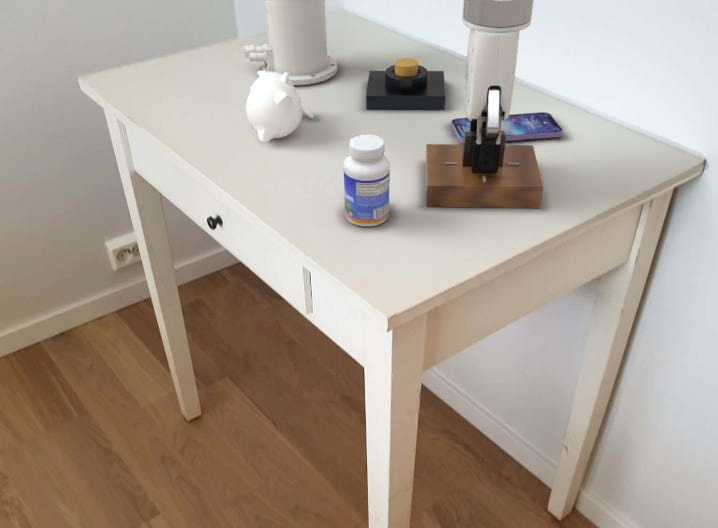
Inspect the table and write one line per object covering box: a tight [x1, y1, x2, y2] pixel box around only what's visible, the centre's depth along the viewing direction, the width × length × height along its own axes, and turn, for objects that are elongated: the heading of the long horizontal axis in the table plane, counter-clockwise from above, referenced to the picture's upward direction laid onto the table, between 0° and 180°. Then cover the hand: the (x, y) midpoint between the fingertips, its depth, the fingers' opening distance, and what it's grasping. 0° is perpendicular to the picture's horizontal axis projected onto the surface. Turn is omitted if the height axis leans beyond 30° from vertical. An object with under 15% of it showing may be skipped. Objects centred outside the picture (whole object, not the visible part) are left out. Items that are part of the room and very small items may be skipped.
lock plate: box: [425, 143, 544, 209], centre depth 93 cm, size 14×11×3 cm
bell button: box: [394, 57, 419, 77], centre depth 112 cm, size 4×4×2 cm
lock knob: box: [462, 130, 507, 167], centre depth 91 cm, size 5×1×4 cm, turn 87°
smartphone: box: [450, 111, 564, 144], centre depth 105 cm, size 7×1×15 cm
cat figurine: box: [245, 69, 314, 144], centre depth 105 cm, size 9×11×12 cm
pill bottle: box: [343, 134, 391, 228], centre depth 86 cm, size 5×5×10 cm
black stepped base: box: [365, 64, 446, 111], centre depth 114 cm, size 12×10×4 cm
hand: (482, 159), depth 91 cm, fingers open, 5 cm apart
